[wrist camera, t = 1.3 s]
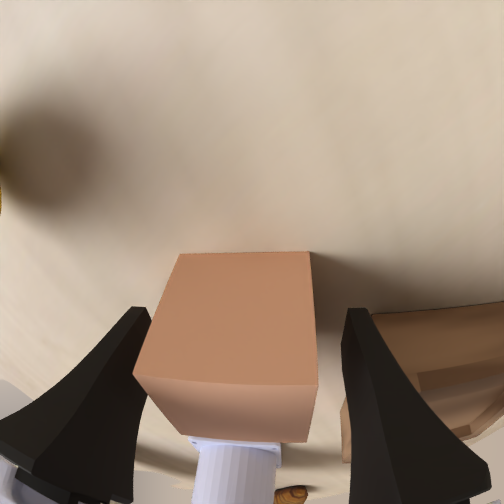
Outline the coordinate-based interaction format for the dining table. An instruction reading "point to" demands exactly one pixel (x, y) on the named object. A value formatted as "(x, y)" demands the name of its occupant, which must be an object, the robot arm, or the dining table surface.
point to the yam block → (235, 347)
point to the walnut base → (448, 364)
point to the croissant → (290, 495)
